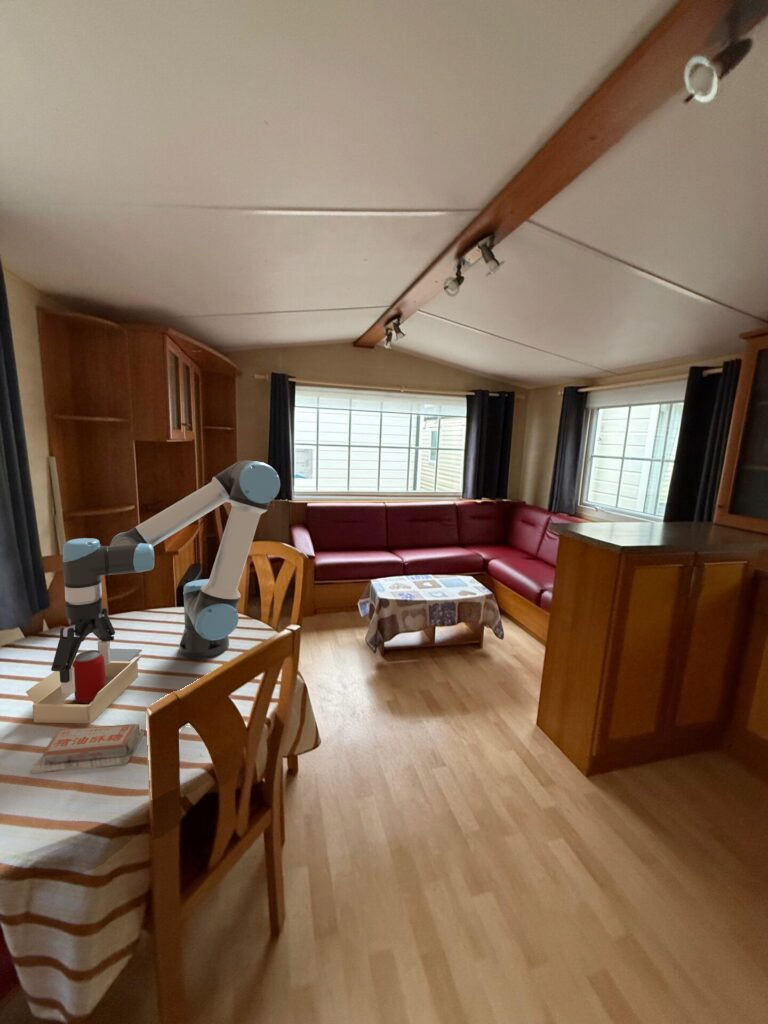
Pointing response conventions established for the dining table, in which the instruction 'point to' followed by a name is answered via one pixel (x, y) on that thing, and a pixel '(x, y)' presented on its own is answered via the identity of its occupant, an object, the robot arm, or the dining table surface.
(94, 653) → the beverage can
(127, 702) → the dining table surface
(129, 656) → the coaster
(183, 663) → the dining table surface
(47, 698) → the carton
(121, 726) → the packaged product
